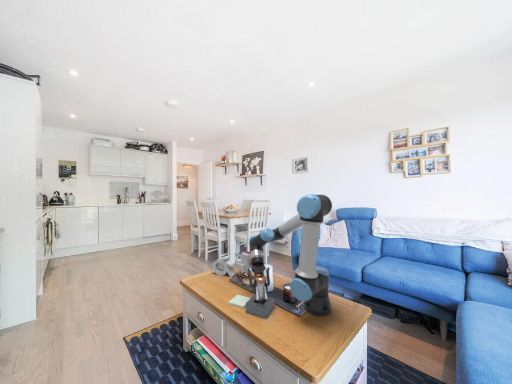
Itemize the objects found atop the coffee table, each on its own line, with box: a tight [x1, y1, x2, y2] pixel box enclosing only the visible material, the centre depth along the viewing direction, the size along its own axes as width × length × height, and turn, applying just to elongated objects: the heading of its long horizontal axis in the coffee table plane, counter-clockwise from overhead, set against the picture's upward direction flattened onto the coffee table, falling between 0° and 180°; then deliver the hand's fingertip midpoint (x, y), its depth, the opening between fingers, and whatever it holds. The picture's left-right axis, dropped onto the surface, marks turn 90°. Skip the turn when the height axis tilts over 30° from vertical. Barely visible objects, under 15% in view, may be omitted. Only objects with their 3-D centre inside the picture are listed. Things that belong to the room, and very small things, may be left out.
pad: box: [227, 294, 252, 309], centre depth 124 cm, size 10×10×1 cm
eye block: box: [245, 294, 275, 320], centre depth 116 cm, size 12×12×5 cm
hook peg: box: [255, 274, 267, 305], centre depth 116 cm, size 6×6×18 cm
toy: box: [234, 250, 253, 276], centre depth 160 cm, size 10×17×20 cm, turn 50°
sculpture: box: [212, 255, 237, 278], centre depth 164 cm, size 18×6×15 cm, turn 70°
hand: (261, 299), depth 112 cm, fingers closed on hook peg, 4 cm apart
